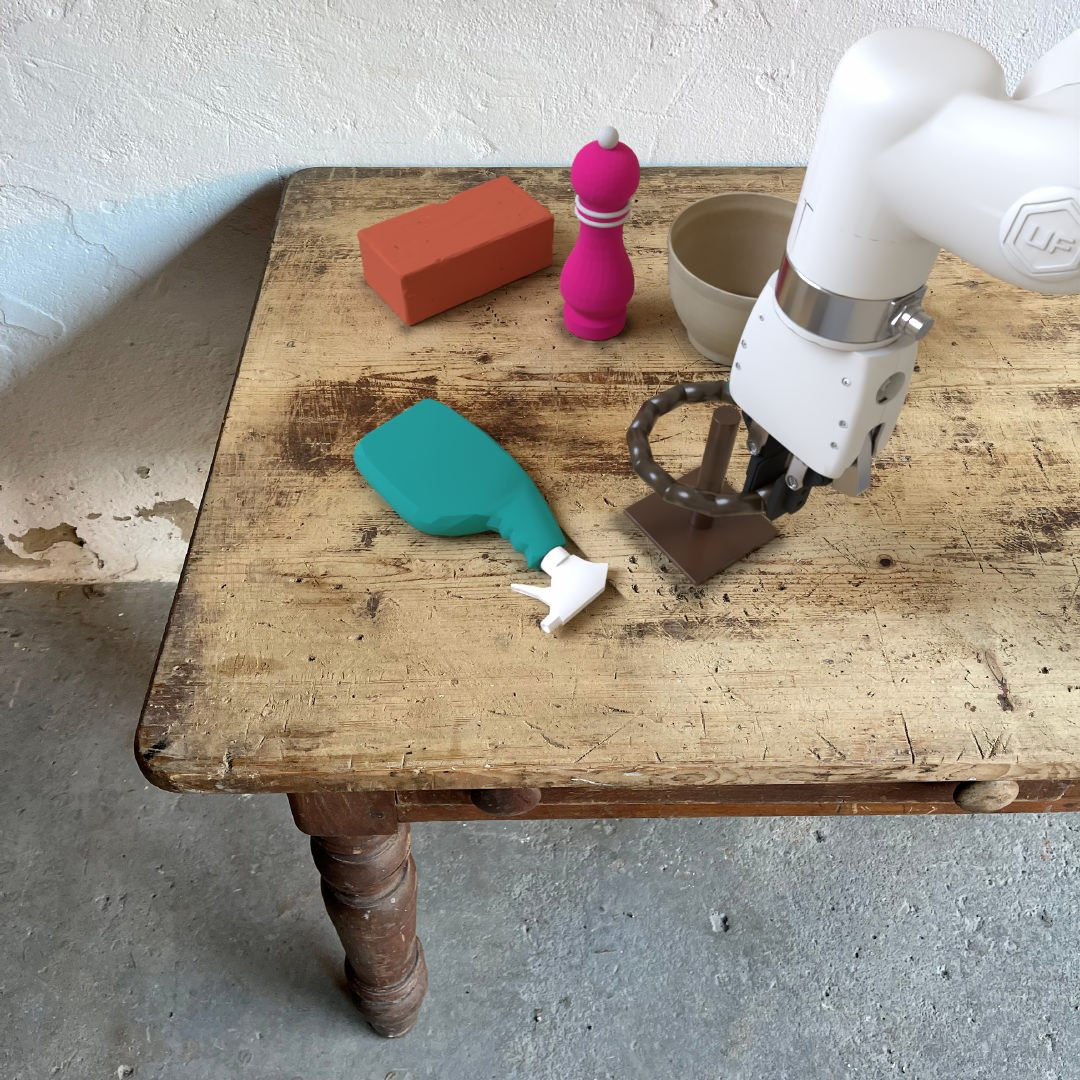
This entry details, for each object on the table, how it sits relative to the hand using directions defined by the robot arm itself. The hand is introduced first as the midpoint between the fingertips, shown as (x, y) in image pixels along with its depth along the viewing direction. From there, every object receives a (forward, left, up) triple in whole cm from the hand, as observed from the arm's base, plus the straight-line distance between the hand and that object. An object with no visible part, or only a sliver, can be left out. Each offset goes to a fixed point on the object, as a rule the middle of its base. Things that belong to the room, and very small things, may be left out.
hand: (771, 498), depth 63 cm
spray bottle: (+17, +14, -10) cm, 24 cm away
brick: (+46, -2, -10) cm, 47 cm away
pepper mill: (+32, -9, -10) cm, 34 cm away
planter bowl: (+22, -19, -10) cm, 30 cm away
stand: (+6, 0, -10) cm, 11 cm away
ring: (+6, 0, 0) cm, 6 cm away
